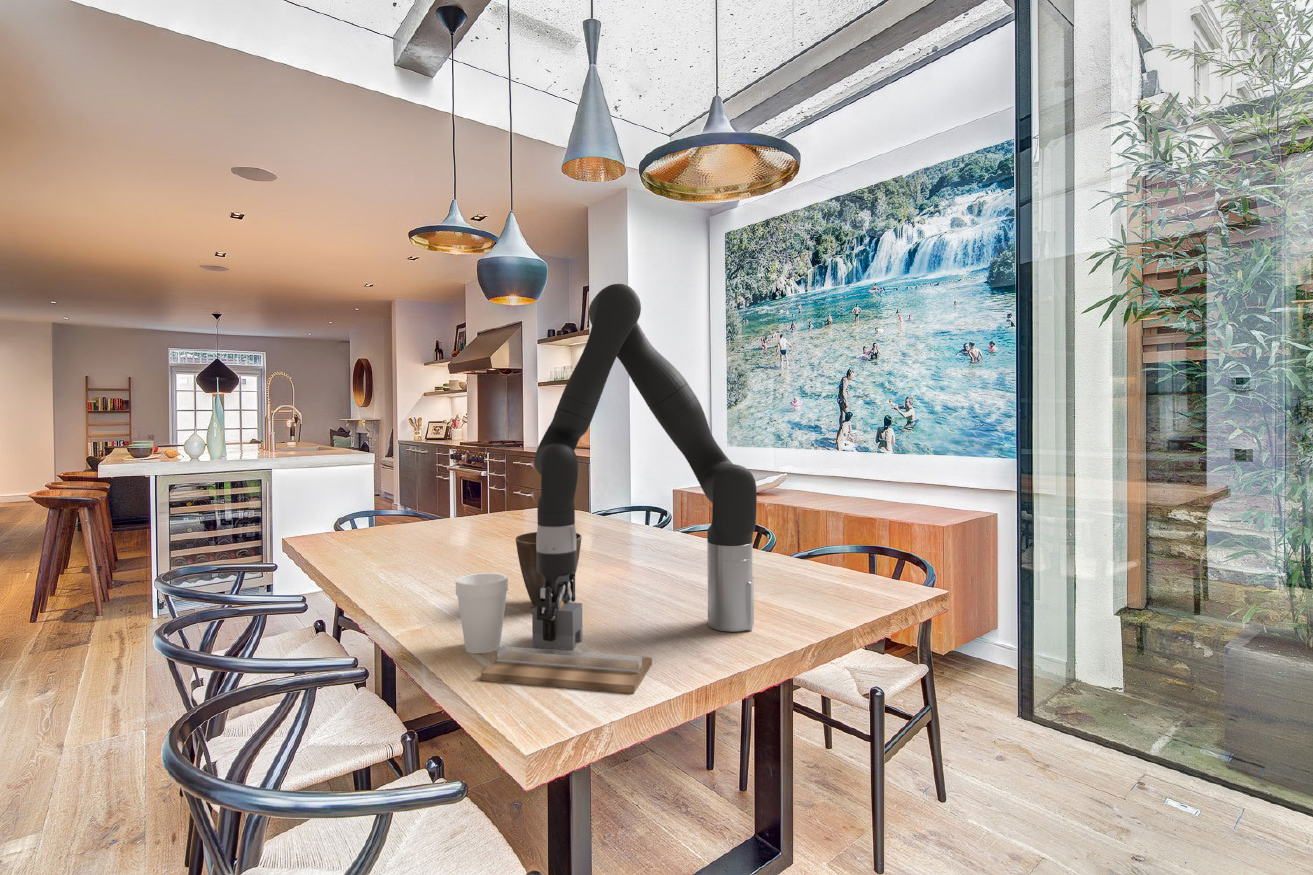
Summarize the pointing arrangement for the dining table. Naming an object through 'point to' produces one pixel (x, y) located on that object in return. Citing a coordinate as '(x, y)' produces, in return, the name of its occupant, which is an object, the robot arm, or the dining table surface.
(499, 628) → the foam cup
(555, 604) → the robot arm
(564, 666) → the rail
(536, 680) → the board
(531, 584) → the plant pot
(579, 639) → the block
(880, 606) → the dining table surface
